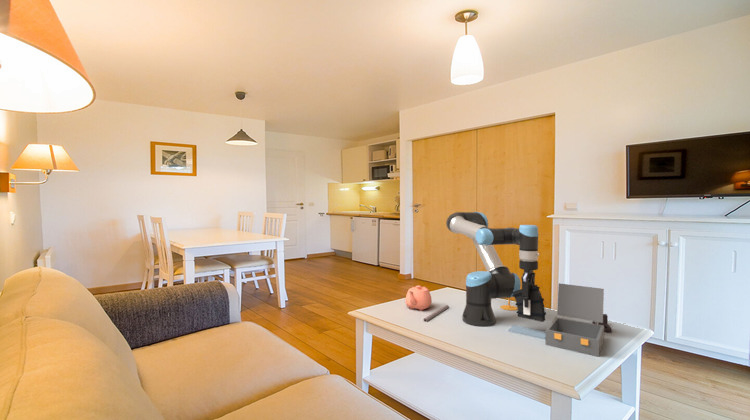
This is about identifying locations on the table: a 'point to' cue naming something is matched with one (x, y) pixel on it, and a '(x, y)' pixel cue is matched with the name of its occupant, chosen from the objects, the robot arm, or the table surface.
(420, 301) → the pink rounded piece
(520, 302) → the magazine
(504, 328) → the table surface
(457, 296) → the table surface
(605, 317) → the bracket
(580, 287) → the lid
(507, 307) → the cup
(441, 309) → the metal rod
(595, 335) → the case
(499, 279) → the robot arm
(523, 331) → the mat
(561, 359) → the table surface
